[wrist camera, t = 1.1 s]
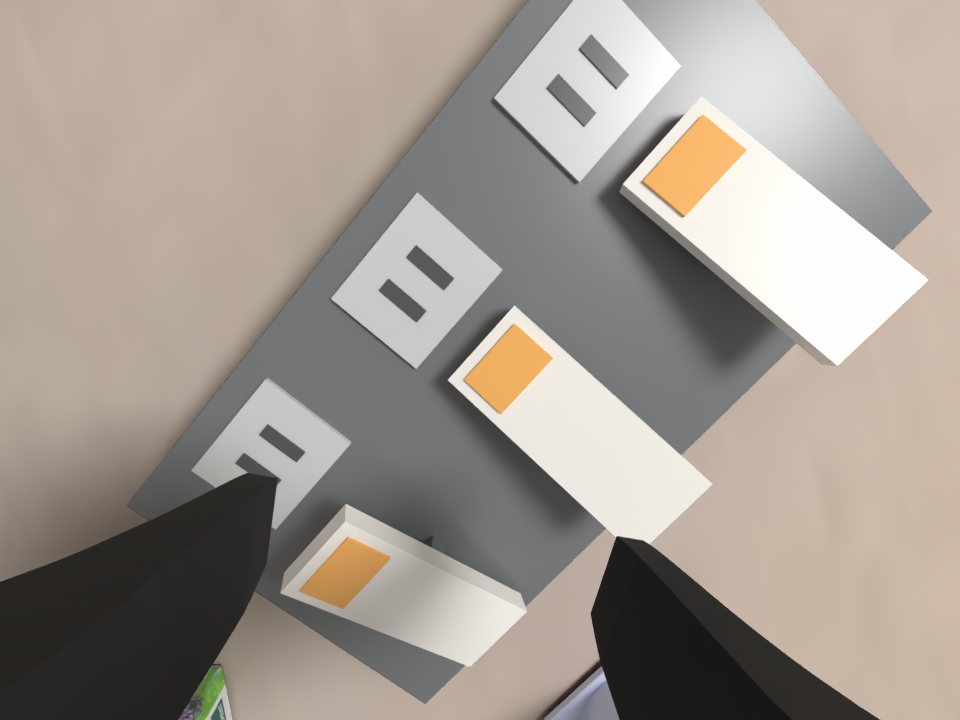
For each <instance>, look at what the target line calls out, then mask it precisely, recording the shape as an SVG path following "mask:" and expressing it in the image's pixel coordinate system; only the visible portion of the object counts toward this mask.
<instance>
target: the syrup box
mask: <svg viewBox="0 0 960 720" xmlns="http://www.w3.org/2000/svg"><path fill="white" fill-rule="evenodd" d="M178 720H232V715H231V710H230V704H229V699H228V694H227V689H226V684H225V679H224V674H223V669H222V667H221V666H220V665H215V666H211V668H210V669H209V671H208V673H207V674H206V676H205V677H204V679H203V681H202V682H201V684H200V685H199V687H198V689H197V690H196V692H195V694H194V695H193V697H192V698H191V700H190V702H189V703H188V705H187V706H186V708H185V710H184V711H183V713H182V715H181V716H180V718H179V719H178Z"/></svg>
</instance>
